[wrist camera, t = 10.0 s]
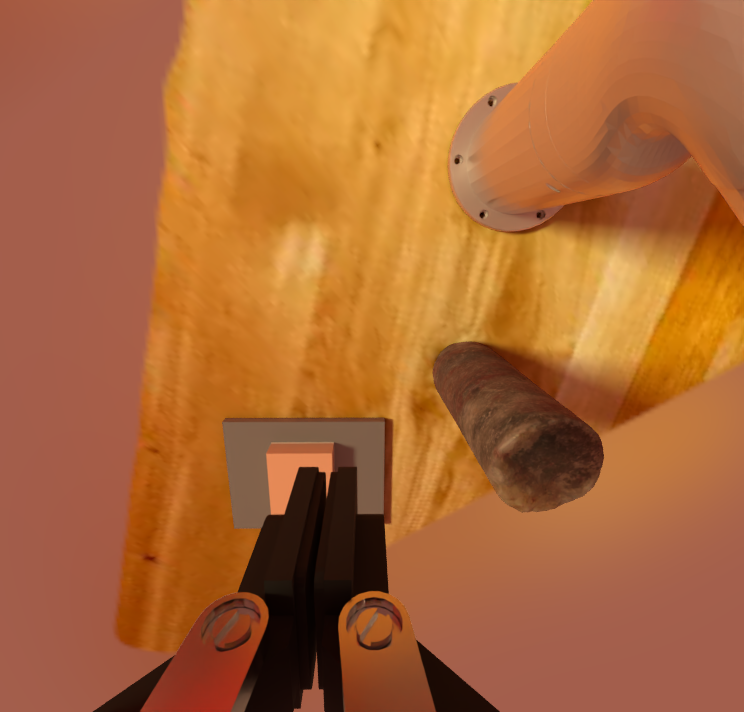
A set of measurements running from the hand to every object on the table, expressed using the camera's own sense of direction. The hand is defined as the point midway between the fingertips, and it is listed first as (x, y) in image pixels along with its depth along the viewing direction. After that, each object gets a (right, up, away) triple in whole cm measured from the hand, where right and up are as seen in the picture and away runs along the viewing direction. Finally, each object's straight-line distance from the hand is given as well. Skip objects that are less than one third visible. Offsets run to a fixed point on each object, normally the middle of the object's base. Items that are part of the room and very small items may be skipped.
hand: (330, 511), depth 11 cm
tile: (-10, -10, +33) cm, 36 cm away
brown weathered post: (+12, +3, +32) cm, 34 cm away
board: (-6, -9, +35) cm, 37 cm away
